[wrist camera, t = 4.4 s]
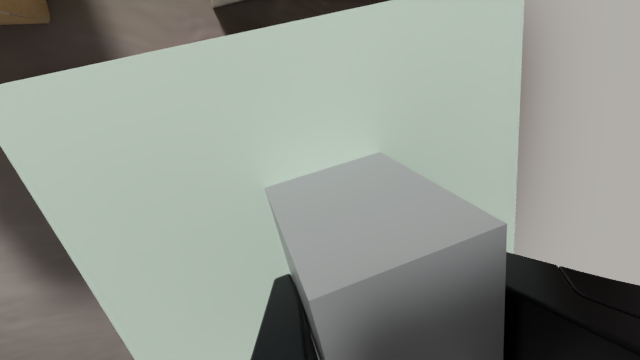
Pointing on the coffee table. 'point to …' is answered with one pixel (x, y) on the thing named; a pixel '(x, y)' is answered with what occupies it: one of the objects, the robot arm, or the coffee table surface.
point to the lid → (291, 181)
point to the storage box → (222, 2)
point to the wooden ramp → (24, 12)
